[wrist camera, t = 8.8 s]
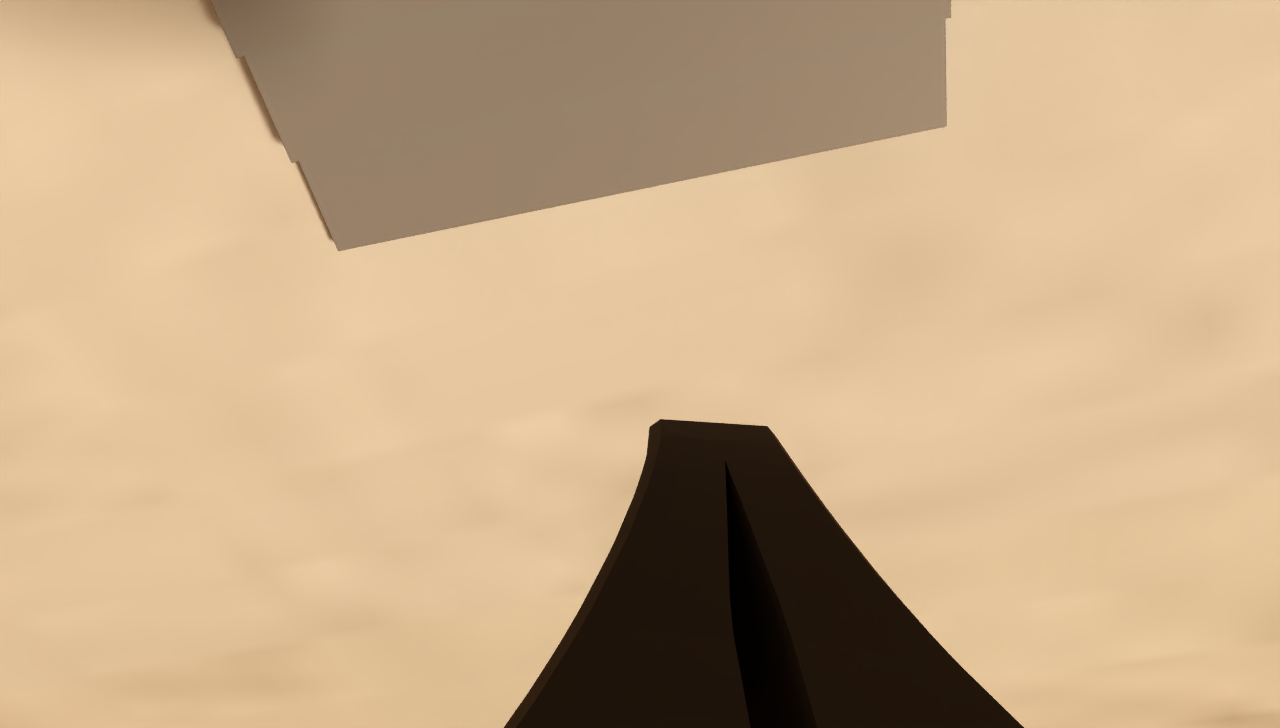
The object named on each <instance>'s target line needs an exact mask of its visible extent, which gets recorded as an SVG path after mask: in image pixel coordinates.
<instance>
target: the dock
mask: <svg viewBox="0 0 1280 728" xmlns="http://www.w3.org/2000/svg"><path fill="white" fill-rule="evenodd" d="M210 1H211V3H212V5H213V8H214V10H215V12H216V14H217V16H218V19H219V21H220V23H221V25H222V28H223V30H224V32H225V34H226V36H227V39H228V41H229V43H230V45H231V48H232V50H233V52H234V54H235V56H236V58H238V57H243V56H244V57H245V60H246V62H247V64H248V66H249V69H250V71H251V73H252V75H253V78H254V80H255V82H256V84H257V87H258V89H259V91H260V93H261V96H262V98H263V100H264V102H265V105H266V107H267V109H268V111H269V114H270V116H271V118H272V120H273V123H274V125H275V127H276V129H277V132H278V134H279V136H280V138H281V141H282V143H283V145H284V147H285V150H286V152H287V154H288V156H289V159H290V161H291V163H292V162H297V161H299V163H300V165H301V168H302V170H303V172H304V175H305V177H306V179H307V181H308V184H309V186H310V188H311V190H312V193H313V195H314V197H315V200H316V202H317V204H318V206H319V209H320V211H321V213H322V216H323V218H324V220H325V222H326V225H327V227H328V229H329V231H330V234H331V236H332V238H333V241H334V243H335V245H336V247H337V250H338V251H342V250H347V249H351V248H356V247H361V246H366V245H371V244H376V243H381V242H386V241H390V240H395V239H400V238H405V237H410V236H415V235H420V234H425V233H429V232H434V231H439V230H444V229H449V228H454V227H459V226H463V225H468V224H473V223H478V222H483V221H488V220H493V219H498V218H502V217H507V216H512V215H517V214H522V213H527V212H532V211H537V210H541V209H546V208H551V207H556V206H561V205H566V204H571V203H575V202H580V201H585V200H590V199H595V198H600V197H605V196H610V195H614V194H619V193H624V192H629V191H634V190H639V189H644V188H649V187H653V186H658V185H663V184H668V183H673V182H678V181H683V180H687V179H692V178H697V177H702V176H707V175H712V174H717V173H722V172H726V171H731V170H736V169H741V168H746V167H751V166H756V165H761V164H765V163H770V162H775V161H780V160H785V159H790V158H795V157H800V156H804V155H809V154H814V153H819V152H824V151H829V150H834V149H838V148H843V147H848V146H853V145H858V144H863V143H868V142H873V141H877V140H882V139H887V138H892V137H897V136H902V135H907V134H912V133H916V132H921V131H926V130H931V129H936V128H941V127H946V126H947V111H946V28H945V19H946V18H951V0H210Z"/></svg>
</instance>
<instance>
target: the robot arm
mask: <svg viewBox="0 0 1280 728" xmlns="http://www.w3.org/2000/svg"><path fill="white" fill-rule="evenodd" d="M504 728H1024V727H1023V726H1022V725H1021V724H1020V723H1019V722H1018V721H1016V720H1015V719H1014V718H1013V717H1012V716H1011V715H1010V714H1009V713H1008V712H1007V711H1006V710H1005V709H1004V708H1003V707H1002V706H1001V705H1000V704H999V703H998V702H997V701H996V700H995V699H994V698H993V697H992V696H991V695H990V694H989V693H988V692H987V691H986V690H985V689H984V688H983V687H982V686H981V685H980V684H979V683H978V682H977V681H975V680H974V679H973V678H972V677H971V676H970V675H969V674H968V673H967V672H966V671H965V670H964V669H963V668H962V667H961V666H960V665H959V664H958V663H957V662H956V661H955V660H954V659H953V657H952V656H951V655H950V654H949V653H948V652H947V651H946V650H945V649H944V648H943V647H942V646H941V645H940V644H939V643H938V642H937V641H936V639H935V638H934V637H933V636H932V635H931V634H930V633H929V632H928V631H927V629H926V628H925V627H924V626H923V625H922V624H921V623H920V622H919V620H918V619H917V618H916V617H915V616H914V615H913V614H912V613H911V611H910V610H909V609H908V608H907V607H906V606H905V605H904V604H903V602H902V601H901V600H900V599H899V598H898V597H897V596H896V594H895V593H894V592H893V591H892V590H891V588H890V587H889V586H888V585H887V584H886V582H885V581H884V580H883V579H882V578H881V577H880V575H879V574H878V573H877V572H876V571H875V569H874V568H873V567H872V566H871V564H870V563H869V562H868V561H867V559H866V558H865V557H864V555H863V554H862V553H861V552H860V550H859V549H858V548H857V547H856V545H855V544H854V543H853V542H852V540H851V539H850V538H849V537H848V535H847V534H846V533H845V532H844V530H843V529H842V528H841V526H840V525H839V524H838V523H837V521H836V520H835V519H834V517H833V516H832V515H831V513H830V512H829V511H828V509H827V508H826V507H825V505H824V504H823V503H822V501H821V500H820V498H819V497H818V496H817V494H816V493H815V492H814V490H813V489H812V487H811V486H810V485H809V483H808V482H807V480H806V479H805V478H804V476H803V475H802V473H801V472H800V471H799V469H798V468H797V466H796V465H795V463H794V462H793V461H792V459H791V458H790V456H789V455H788V453H787V452H786V450H785V449H784V448H783V446H782V445H781V443H780V442H779V440H778V439H777V438H776V436H775V435H774V434H773V432H772V431H771V430H770V429H769V428H768V426H755V425H740V424H725V423H710V422H694V421H679V420H664V419H660V420H659V421H657V422H656V423H655V424H653V425H652V426H650V428H649V438H648V448H647V456H646V460H645V464H644V467H643V471H642V474H641V477H640V480H639V483H638V486H637V489H636V492H635V494H634V497H633V500H632V502H631V504H630V507H629V509H628V511H627V514H626V516H625V518H624V521H623V523H622V526H621V528H620V530H619V533H618V535H617V537H616V540H615V542H614V544H613V546H612V548H611V550H610V552H609V554H608V556H607V558H606V560H605V562H604V564H603V566H602V568H601V570H600V572H599V574H598V576H597V577H596V579H595V581H594V583H593V585H592V587H591V589H590V591H589V593H588V595H587V597H586V599H585V600H584V602H583V604H582V606H581V608H580V610H579V611H578V613H577V615H576V617H575V618H574V620H573V622H572V624H571V625H570V627H569V629H568V630H567V632H566V634H565V636H564V637H563V639H562V640H561V642H560V644H559V645H558V647H557V649H556V650H555V652H554V654H553V655H552V657H551V658H550V660H549V661H548V663H547V664H546V666H545V668H544V669H543V671H542V672H541V674H540V675H539V677H538V679H537V680H536V682H535V683H534V685H533V686H532V688H531V689H530V691H529V692H528V694H527V695H526V697H525V698H524V700H523V701H522V703H521V704H520V705H519V707H518V708H517V710H516V711H515V712H514V714H513V715H512V717H511V718H510V720H509V721H508V722H507V724H506V725H505V727H504Z"/></svg>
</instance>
